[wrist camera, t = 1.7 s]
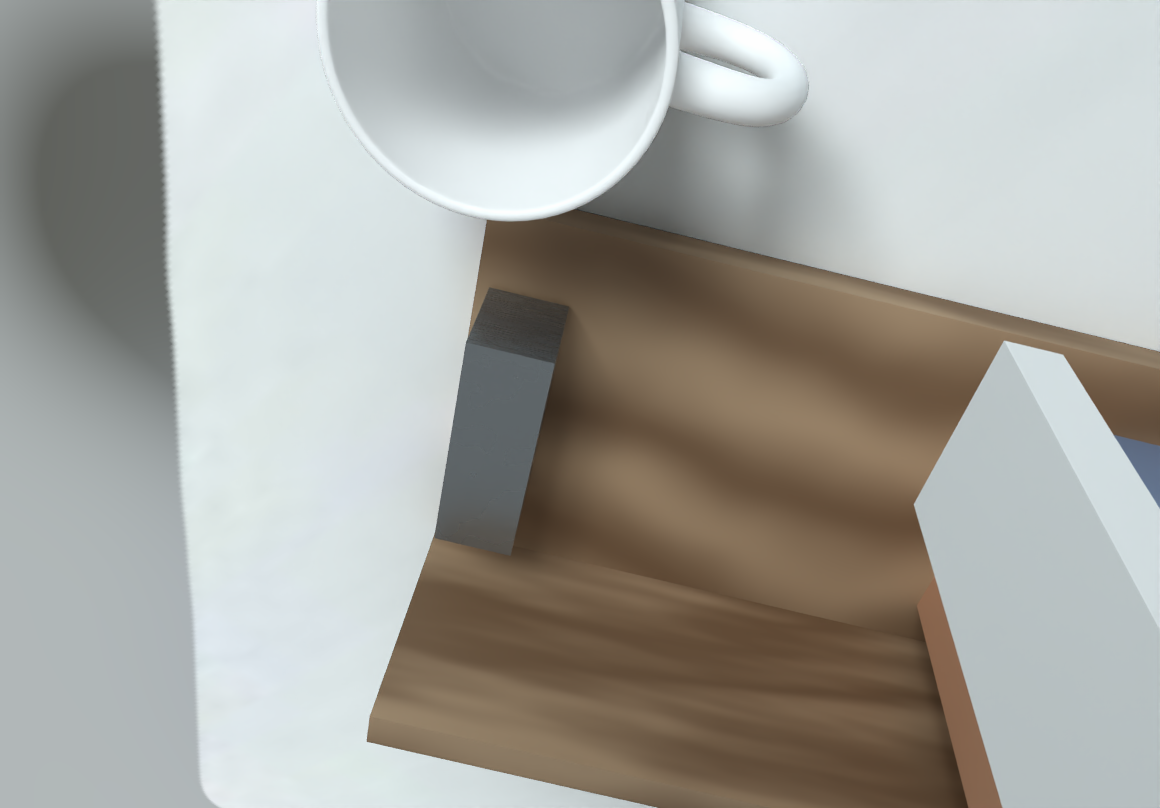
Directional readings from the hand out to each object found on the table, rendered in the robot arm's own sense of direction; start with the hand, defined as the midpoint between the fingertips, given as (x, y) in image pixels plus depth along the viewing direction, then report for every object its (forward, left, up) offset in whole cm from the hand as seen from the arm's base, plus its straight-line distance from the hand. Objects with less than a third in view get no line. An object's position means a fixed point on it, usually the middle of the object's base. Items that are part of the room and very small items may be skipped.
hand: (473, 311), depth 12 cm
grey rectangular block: (+15, 0, -19) cm, 25 cm away
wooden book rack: (+16, +12, -21) cm, 29 cm away
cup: (0, 0, -22) cm, 22 cm away
